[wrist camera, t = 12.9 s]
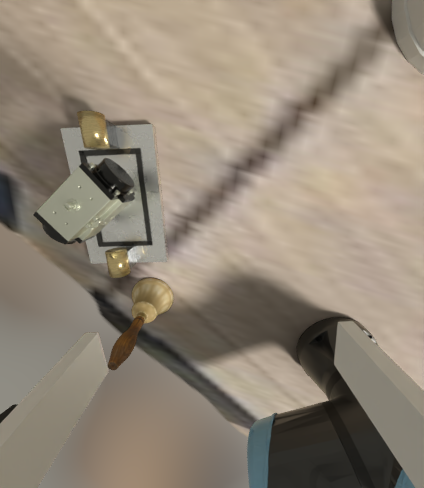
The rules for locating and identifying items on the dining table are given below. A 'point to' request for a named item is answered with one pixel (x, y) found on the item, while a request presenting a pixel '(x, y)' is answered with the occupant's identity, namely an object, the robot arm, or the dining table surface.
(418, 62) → the dish
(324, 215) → the dining table surface
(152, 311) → the hand bell
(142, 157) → the plate
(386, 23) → the dining table surface
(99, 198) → the pneumatic valve
